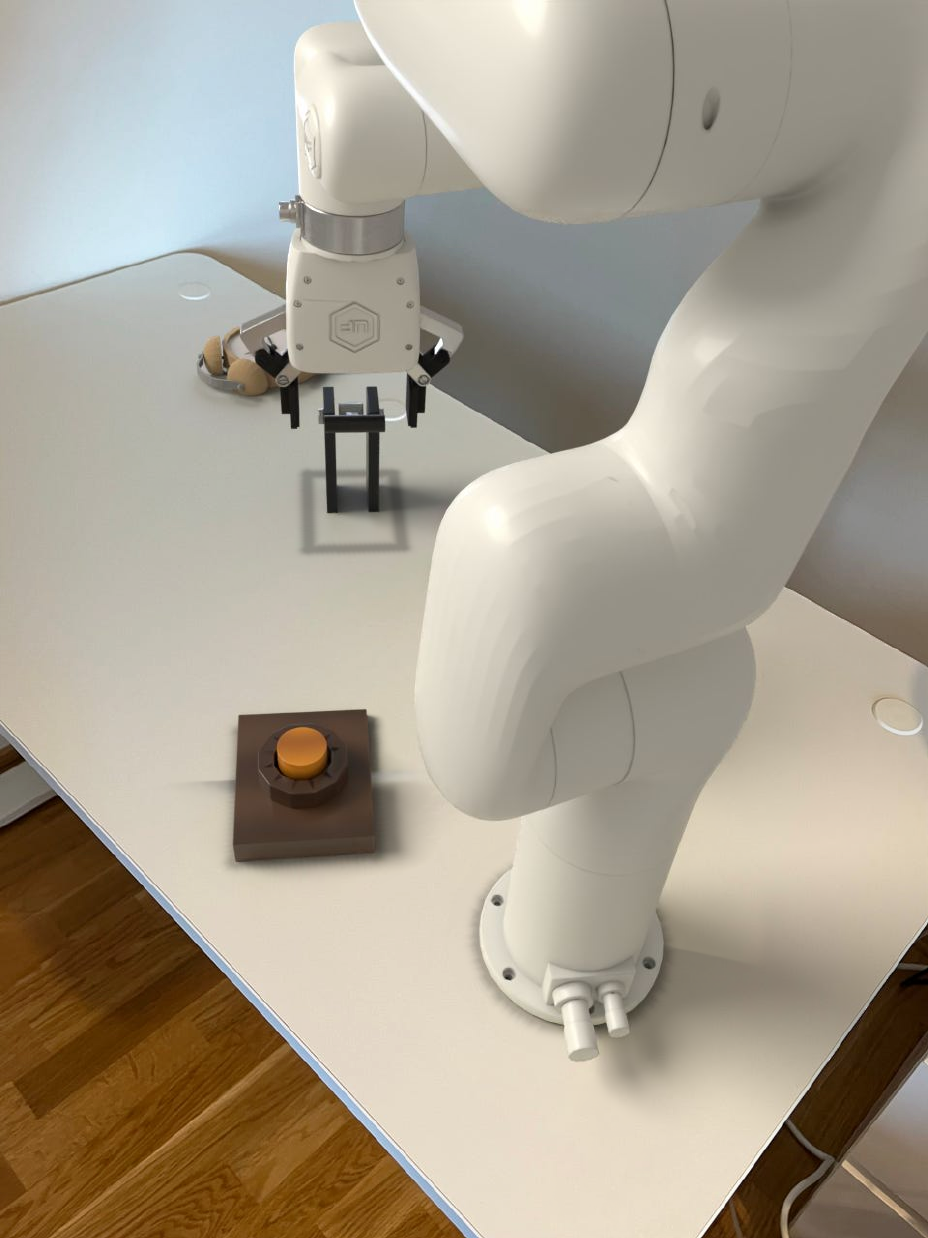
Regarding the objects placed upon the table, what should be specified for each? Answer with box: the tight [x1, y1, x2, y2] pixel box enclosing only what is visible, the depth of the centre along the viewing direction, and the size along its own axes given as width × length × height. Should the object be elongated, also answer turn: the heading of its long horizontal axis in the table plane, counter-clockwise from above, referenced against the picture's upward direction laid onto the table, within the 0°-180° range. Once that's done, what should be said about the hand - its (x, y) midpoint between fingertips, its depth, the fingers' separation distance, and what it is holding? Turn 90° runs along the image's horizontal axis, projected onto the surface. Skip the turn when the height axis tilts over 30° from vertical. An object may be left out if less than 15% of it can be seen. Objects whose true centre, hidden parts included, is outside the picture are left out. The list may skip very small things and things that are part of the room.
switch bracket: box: [317, 385, 385, 514], centre depth 102 cm, size 12×9×13 cm
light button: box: [277, 727, 327, 780], centre depth 78 cm, size 4×4×2 cm
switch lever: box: [323, 401, 386, 434], centre depth 94 cm, size 12×5×2 cm, turn 7°
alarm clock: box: [196, 325, 322, 397], centre depth 121 cm, size 11×5×15 cm
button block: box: [232, 708, 376, 862], centre depth 80 cm, size 12×10×4 cm
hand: (353, 418), depth 89 cm, fingers open, 9 cm apart
